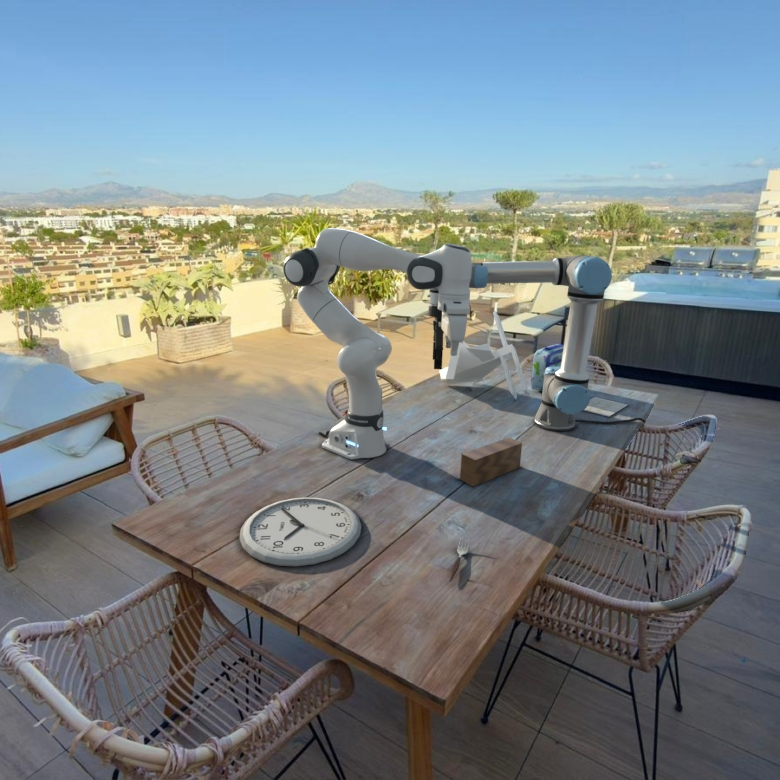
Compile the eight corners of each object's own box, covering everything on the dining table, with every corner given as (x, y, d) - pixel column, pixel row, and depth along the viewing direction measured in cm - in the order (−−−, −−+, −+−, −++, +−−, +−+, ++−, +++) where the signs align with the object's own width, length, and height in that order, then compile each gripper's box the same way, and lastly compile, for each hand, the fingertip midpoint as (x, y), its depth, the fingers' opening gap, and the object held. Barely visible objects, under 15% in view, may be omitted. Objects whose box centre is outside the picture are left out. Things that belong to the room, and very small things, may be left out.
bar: (506, 461, 172) (508, 437, 169) (519, 467, 168) (522, 442, 165) (459, 479, 159) (461, 453, 156) (473, 486, 155) (475, 460, 152)
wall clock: (363, 557, 118) (227, 562, 115) (363, 563, 118) (227, 568, 115) (359, 492, 146) (250, 495, 143) (359, 498, 147) (250, 500, 144)
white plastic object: (461, 429, 252) (437, 405, 227) (444, 352, 274) (420, 323, 250) (535, 404, 240) (518, 377, 215) (510, 326, 262) (492, 293, 237)
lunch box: (547, 396, 238) (552, 351, 232) (526, 391, 246) (531, 347, 239) (574, 385, 256) (579, 343, 250) (554, 380, 263) (559, 340, 257)
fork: (443, 582, 112) (444, 574, 112) (460, 542, 127) (460, 535, 126) (455, 584, 112) (456, 576, 111) (471, 544, 126) (471, 537, 125)
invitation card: (608, 416, 214) (573, 407, 224) (608, 416, 214) (573, 408, 224) (628, 404, 229) (594, 396, 238) (628, 405, 229) (594, 397, 238)
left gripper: (437, 298, 158) (435, 343, 162) (447, 308, 138) (444, 359, 142) (458, 299, 158) (455, 343, 162) (471, 309, 139) (467, 359, 143)
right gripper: (427, 299, 193) (425, 355, 199) (429, 309, 169) (427, 373, 175) (448, 300, 192) (445, 356, 199) (453, 310, 169) (449, 373, 175)
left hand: (450, 351), depth 152 cm, fingers open, 8 cm apart
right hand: (437, 364), depth 187 cm, fingers open, 13 cm apart
